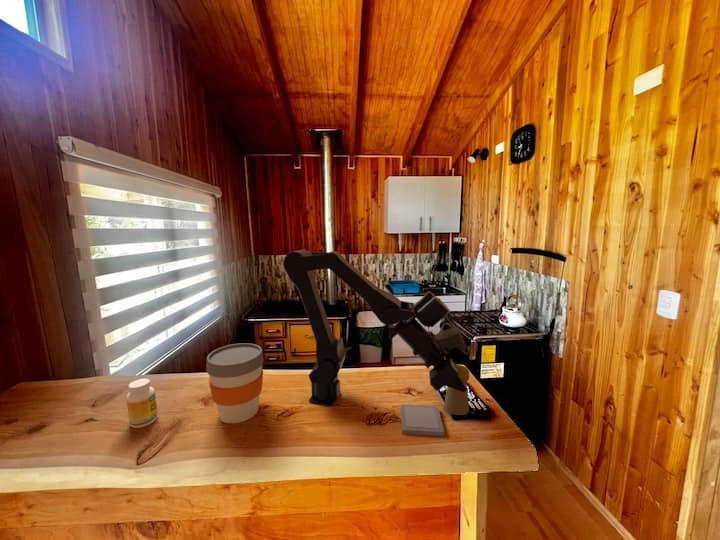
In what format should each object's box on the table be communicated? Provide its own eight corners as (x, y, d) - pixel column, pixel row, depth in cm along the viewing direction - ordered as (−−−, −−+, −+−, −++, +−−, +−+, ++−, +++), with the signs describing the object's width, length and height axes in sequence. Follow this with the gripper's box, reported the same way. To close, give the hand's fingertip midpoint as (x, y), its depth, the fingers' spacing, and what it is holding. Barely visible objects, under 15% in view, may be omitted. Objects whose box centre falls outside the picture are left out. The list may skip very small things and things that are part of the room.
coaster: (402, 433, 65) (402, 429, 65) (400, 408, 74) (400, 404, 74) (444, 436, 64) (444, 431, 64) (437, 410, 73) (437, 406, 73)
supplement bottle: (133, 417, 71) (127, 379, 69) (159, 411, 73) (155, 374, 71) (127, 431, 66) (121, 391, 64) (156, 424, 68) (151, 385, 67)
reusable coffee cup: (276, 410, 73) (273, 352, 71) (224, 437, 64) (218, 371, 62) (251, 390, 82) (247, 338, 79) (202, 412, 72) (196, 353, 70)
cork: (471, 418, 70) (473, 374, 68) (444, 415, 71) (446, 372, 69) (467, 403, 76) (469, 362, 74) (442, 400, 77) (444, 360, 75)
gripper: (449, 331, 61) (502, 385, 61) (439, 306, 79) (480, 347, 79) (409, 364, 64) (460, 416, 64) (408, 332, 82) (448, 373, 82)
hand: (463, 384), depth 72 cm, fingers closed on cork, 5 cm apart
